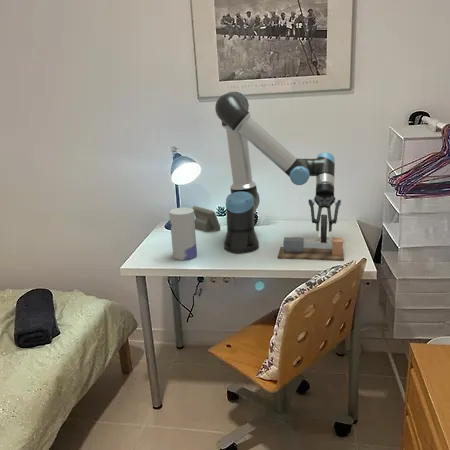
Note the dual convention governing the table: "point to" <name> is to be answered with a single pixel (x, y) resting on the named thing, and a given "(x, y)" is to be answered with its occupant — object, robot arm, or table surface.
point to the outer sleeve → (293, 245)
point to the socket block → (337, 246)
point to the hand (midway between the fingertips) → (323, 238)
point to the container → (183, 233)
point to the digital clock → (205, 219)
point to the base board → (311, 254)
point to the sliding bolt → (323, 243)
